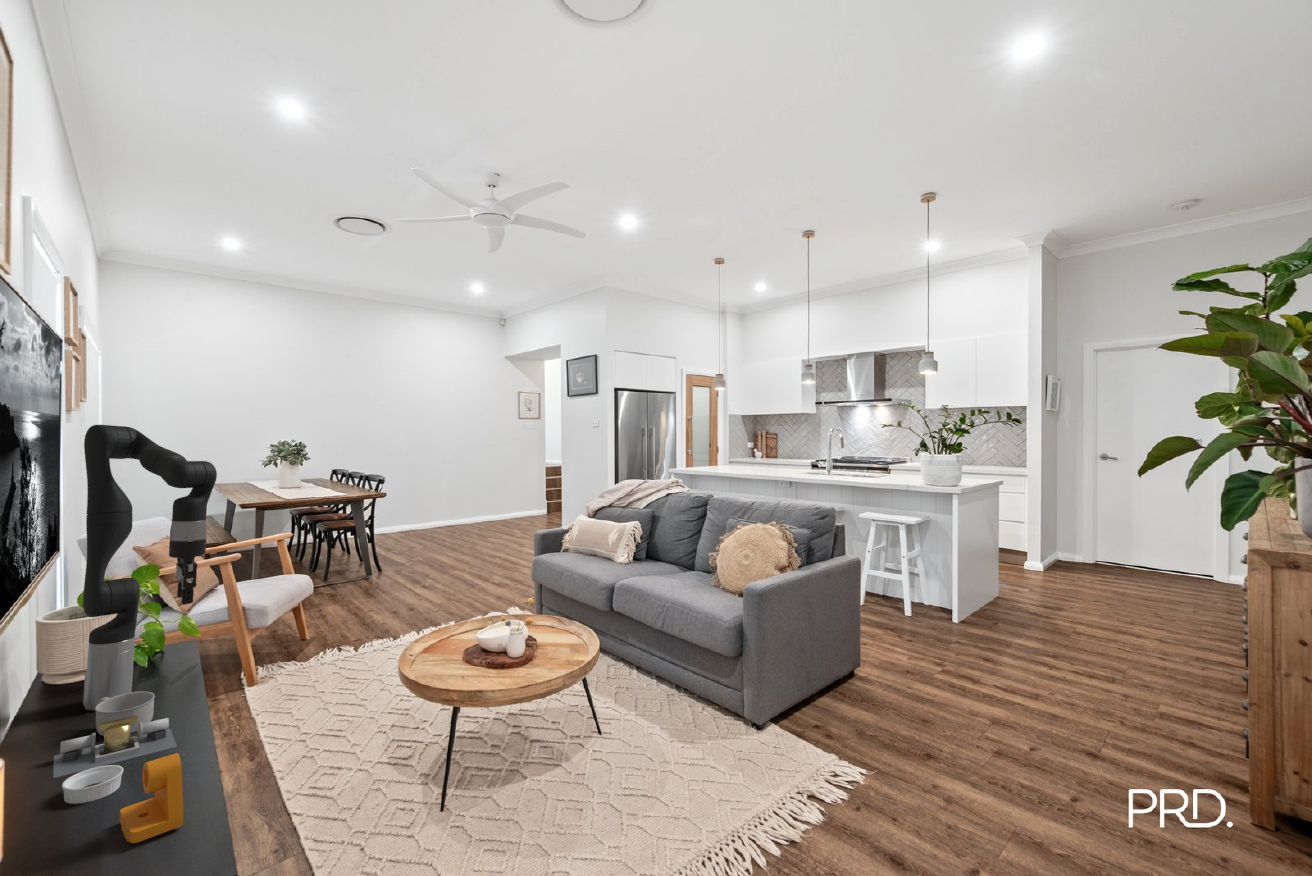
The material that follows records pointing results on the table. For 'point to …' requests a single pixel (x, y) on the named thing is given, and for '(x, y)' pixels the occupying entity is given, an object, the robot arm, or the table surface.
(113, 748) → the gold knob
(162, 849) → the table surface
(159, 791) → the bracket
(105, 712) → the teacup
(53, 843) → the table surface
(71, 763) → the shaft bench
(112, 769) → the ramekin
